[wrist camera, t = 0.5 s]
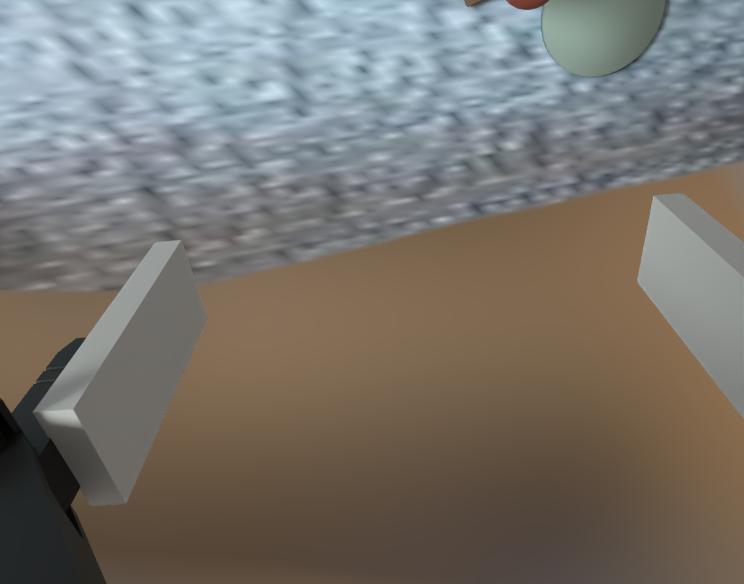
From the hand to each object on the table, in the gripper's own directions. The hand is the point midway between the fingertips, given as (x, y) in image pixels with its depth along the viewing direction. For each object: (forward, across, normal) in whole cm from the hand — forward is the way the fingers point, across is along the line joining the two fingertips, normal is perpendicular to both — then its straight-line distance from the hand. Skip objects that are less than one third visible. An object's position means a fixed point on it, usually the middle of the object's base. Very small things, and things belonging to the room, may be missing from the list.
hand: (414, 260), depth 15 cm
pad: (+28, +15, +2) cm, 31 cm away
